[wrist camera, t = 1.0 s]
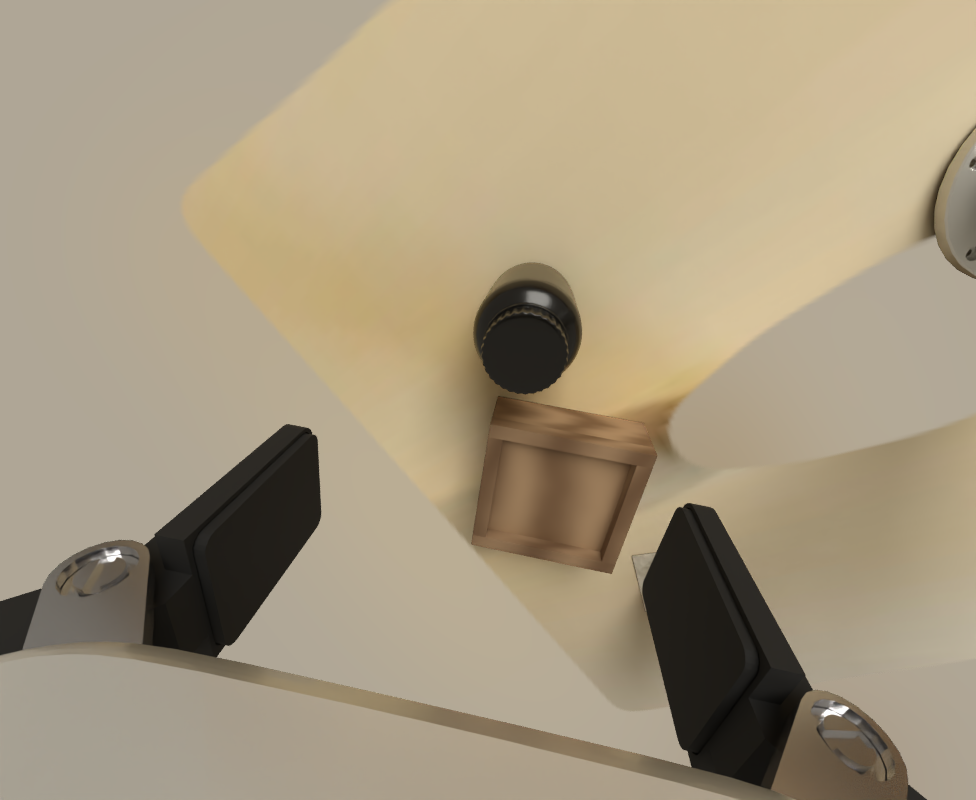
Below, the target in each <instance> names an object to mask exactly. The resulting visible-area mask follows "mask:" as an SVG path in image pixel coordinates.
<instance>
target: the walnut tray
mask: <svg viewBox="0 0 976 800" xmlns="http://www.w3.org/2000/svg"><path fill="white" fill-rule="evenodd" d="M656 458H657V454H656V451H655V449H654V446H653V444H652V442H651V439H650V437H649V434H648V432H647V430H646V427H645V425H644V423H640V422H635V421H629V420H624V419H619V418H613V417H608V416H602V415H597V414H592V413H586V412H581V411H575V410H570V409H565V408H559V407H554V406H548V405H543V404H537V403H532V402H527V401H521V400H516V399H510V398H505V397H500V396H498V399H497V402H496V406H495V409H494V413H493V417H492V420H491V424H490V429H489V436H488V442H487V448H486V455H485V461H484V467H483V474H482V480H481V486H480V493H479V499H478V505H477V512H476V518H475V524H474V531H473V537H472V543H471V544H472V545H477V546H482V547H486V548H491V549H496V550H501V551H505V552H510V553H515V554H520V555H524V556H529V557H534V558H538V559H543V560H548V561H553V562H557V563H562V564H567V565H572V566H576V567H581V568H586V569H591V570H595V571H600V572H605V573H610V574H612V572H613V569H614V567H615V564H616V561H617V559H618V556H619V554H620V551H621V548H622V546H623V543H624V541H625V538H626V536H627V533H628V530H629V528H630V525H631V523H632V520H633V518H634V515H635V512H636V510H637V507H638V505H639V502H640V499H641V497H642V494H643V492H644V489H645V487H646V484H647V481H648V479H649V476H650V474H651V471H652V469H653V466H654V463H655V461H656Z"/></svg>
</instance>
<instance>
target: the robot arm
mask: <svg viewBox="0 0 976 800" xmlns="http://www.w3.org/2000/svg"><path fill="white" fill-rule="evenodd" d="M934 230H935V234H936V238H937V242H938V245H939V247H940V249H941V251H942V253H943V254H944V256H945V258H946V259H947V260H948V261H949V262H950V263H951V264H952V265H953V266H954V267H955V268H956V269H957V270H959V271H961V272H962V273H964V274H966V275H968V276H970V277H972V278H975V279H976V128H975V129H974V131H973V132H972V133H971V134H970V136H969V137H968V138H967V139H966V141H965V142H964V143H963V144H962V146H961V147H960V149H959V151H958V152H957V154H956V156H955V157H954V159H953V160H952V162H951V164H950V165H949V167H948V169H947V172H946V174H945V176H944V179H943V181H942V184H941V186H940V188H939V192H938V196H937V201H936V205H935V210H934ZM320 518H321V499H320V479H319V459H318V440H317V437H316V436H315V435H312V432H311V430H310V429H309V428H305V427H300V426H295V425H290V424H286V425H285V426H283V427H282V428H281V429H279V430H278V431H277V432H276V433H275V434H273V435H272V436H271V437H270V438H269V439H267V440H266V441H265V442H264V443H263V444H262V445H260V446H259V447H258V448H257V449H256V450H254V451H253V452H252V453H251V454H250V455H248V456H247V457H246V458H245V459H244V460H242V461H241V462H240V463H239V464H238V465H236V466H235V467H234V468H233V469H232V470H231V471H229V472H228V473H227V474H226V475H225V476H223V477H222V478H221V479H220V480H219V481H217V482H216V483H215V484H214V485H213V486H211V487H210V488H209V489H208V490H207V491H206V492H204V493H203V494H202V495H201V496H200V497H199V498H197V499H196V500H195V501H194V502H193V503H191V504H190V505H189V506H188V507H186V508H185V509H184V510H183V511H182V512H181V513H179V514H178V515H177V516H176V517H175V518H174V519H172V520H171V521H170V522H169V523H167V524H166V525H165V526H164V527H163V528H162V529H160V530H159V531H158V532H157V533H156V534H155V537H154V538H153V539H151V540H150V541H149V542H148V543H147V544H145V545H143V544H142V543H139V542H136V541H133V540H117V541H110V542H104V543H101V544H98V545H95V546H92V547H89V548H87V549H84V550H82V551H80V552H78V553H76V554H74V555H72V556H71V557H69V558H68V559H66V560H65V561H63V562H62V563H60V564H59V565H58V566H57V567H56V568H55V569H54V570H53V571H52V572H51V573H50V574H49V575H48V577H47V579H46V581H45V583H44V584H43V587H42V589H39V590H36V591H33V592H29V593H26V594H22V595H20V596H16V597H13V598H10V599H6V600H3V601H0V800H927V799H925V798H924V797H923V796H922V795H920V794H919V793H918V792H917V791H915V790H914V789H913V788H912V787H911V786H910V785H908V776H907V769H906V765H905V763H904V761H903V759H902V757H901V755H900V752H899V751H898V749H897V748H896V746H895V745H894V743H893V742H892V741H891V739H890V738H889V737H888V735H887V734H886V733H885V732H884V731H883V730H882V729H881V727H880V726H879V725H878V724H877V723H876V722H875V721H874V720H873V719H872V718H870V717H869V716H868V715H867V714H866V713H864V712H863V711H862V710H861V709H859V708H858V707H857V706H855V705H854V704H852V703H851V702H849V701H847V700H846V699H844V698H842V697H840V696H838V695H835V694H832V693H830V692H828V691H820V690H813V689H812V688H811V686H810V684H809V682H808V680H807V679H806V677H805V673H804V671H803V669H802V668H801V666H800V664H799V662H798V660H797V658H796V657H795V655H794V653H793V651H792V649H791V648H790V646H789V644H788V642H787V640H786V638H785V637H784V635H783V633H782V631H781V629H780V628H779V626H778V624H777V622H776V620H775V618H774V617H773V615H772V613H771V611H770V609H769V608H768V606H767V604H766V602H765V600H764V598H763V597H762V595H761V593H760V591H759V589H758V588H757V586H756V584H755V582H754V580H753V578H752V577H751V575H750V573H749V571H748V569H747V568H746V566H745V564H744V562H743V560H742V558H741V557H740V555H739V553H738V551H737V549H736V548H735V546H734V544H733V542H732V540H731V538H730V537H729V535H728V533H727V531H726V529H725V528H724V526H723V524H722V522H721V520H720V519H719V517H718V515H717V513H716V511H715V510H714V509H713V508H711V507H706V506H701V505H696V504H691V503H687V504H686V505H684V507H683V508H681V507H679V508H677V509H676V511H675V513H674V515H673V517H672V519H671V521H670V524H669V526H668V528H667V530H666V532H665V535H664V537H663V539H662V541H661V543H660V546H659V548H658V550H657V552H656V554H655V557H654V559H653V561H652V563H651V565H650V568H649V570H648V572H647V574H646V576H645V579H644V581H643V586H642V594H643V599H644V603H645V607H646V611H647V615H648V620H649V624H650V628H651V632H652V636H653V640H654V644H655V648H656V652H657V656H658V660H659V664H660V668H661V673H662V677H663V681H664V685H665V689H666V693H667V697H668V701H669V705H670V709H671V713H672V717H673V721H674V726H675V730H676V734H677V738H678V741H679V744H680V746H681V748H682V749H683V750H687V751H688V755H689V758H690V762H691V766H692V767H688V766H684V765H680V764H676V763H672V762H668V761H664V760H660V759H657V758H653V757H649V756H645V755H641V754H637V753H632V752H628V751H624V750H620V749H615V748H611V747H607V746H603V745H598V744H594V743H590V742H585V741H581V740H577V739H573V738H569V737H565V736H560V735H556V734H552V733H547V732H543V731H539V730H535V729H531V728H526V727H522V726H518V725H514V724H510V723H505V722H501V721H496V720H492V719H488V718H484V717H479V716H475V715H470V714H466V713H462V712H458V711H453V710H449V709H445V708H440V707H436V706H431V705H427V704H423V703H419V702H414V701H410V700H405V699H401V698H397V697H392V696H388V695H384V694H379V693H375V692H371V691H366V690H361V689H357V688H353V687H349V686H344V685H340V684H335V683H330V682H326V681H322V680H317V679H313V678H308V677H304V676H300V675H295V674H291V673H286V672H281V671H277V670H273V669H268V668H264V667H259V666H255V665H251V664H246V663H240V662H236V661H231V660H226V659H221V658H216V657H217V656H218V655H219V653H220V652H221V650H222V649H223V648H224V646H225V645H228V646H229V645H232V644H233V643H234V642H235V641H236V640H237V638H238V637H239V636H240V634H241V633H242V631H243V630H244V629H245V627H246V626H247V624H248V623H249V622H250V620H251V619H252V617H253V616H254V615H255V613H256V612H257V610H258V609H259V608H260V606H261V605H262V603H263V602H264V601H265V599H266V598H267V596H268V595H269V593H270V592H271V591H272V589H273V588H274V586H275V585H276V584H277V582H278V581H279V580H280V578H281V577H282V575H283V574H284V573H285V571H286V570H287V568H288V567H289V566H290V564H291V563H292V561H293V560H294V559H295V557H296V556H297V554H298V553H299V552H300V550H301V549H302V547H303V546H304V545H305V543H306V542H307V540H308V539H309V537H310V536H311V535H312V533H313V532H314V530H315V529H316V528H317V526H318V524H319V521H320Z"/></svg>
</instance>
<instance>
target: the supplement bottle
mask: <svg viewBox="0 0 976 800" xmlns="http://www.w3.org/2000/svg"><path fill="white" fill-rule="evenodd" d="M473 335H474V343H475V347H476V350H477V353H478V355H479V357H480V359H481V360H482V362H483V365H484V366H485V370H486V372H487V373H488V374H489V376H490V378H491V379H493V380H494V382H495V383H496V384H498V385H500V386H501V387H502V388H503V389H507V390H508V391H509V392H515V393H517V394H519V393H523V394H528V393H533V394H534V393H536V392H537V391H542V390H543V389H545V388H549V387H550V385H551V384H553V383H555V382H556V380H557V379H558V378H559V377H561V374H562V373H563V372H564V371H565V370H566V369H567V368H568V367H569V366H570V365H571V363H572V362H573V360H574V359H575V357H576V355H577V353H578V351H579V348H580V345H581V339H582V325H581V319H580V315H579V311H578V308H577V305H576V302H575V298H574V295H573V292H572V290H571V287H570V285H569V284H568V282H567V281H566V279H565V278H564V277H563V276H562V275H561V274H560V273H559V272H558V271H557V270H555V269H553V268H552V267H550V266H547V265H544V264H540V263H523V264H520V265H516V266H514V267H512V268H510V269H509V270H507V271H506V272H504V273H503V274H502V275H501V276H500V277H499V278H498V279H497V281H496V282H495V283H494V285H493V287H492V288H491V290H490V291H489V293H488V295H487V296H486V298H485V299H484V301H483V303H482V304H481V306H480V308H479V310H478V313H477V315H476V318H475V322H474V331H473Z"/></svg>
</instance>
